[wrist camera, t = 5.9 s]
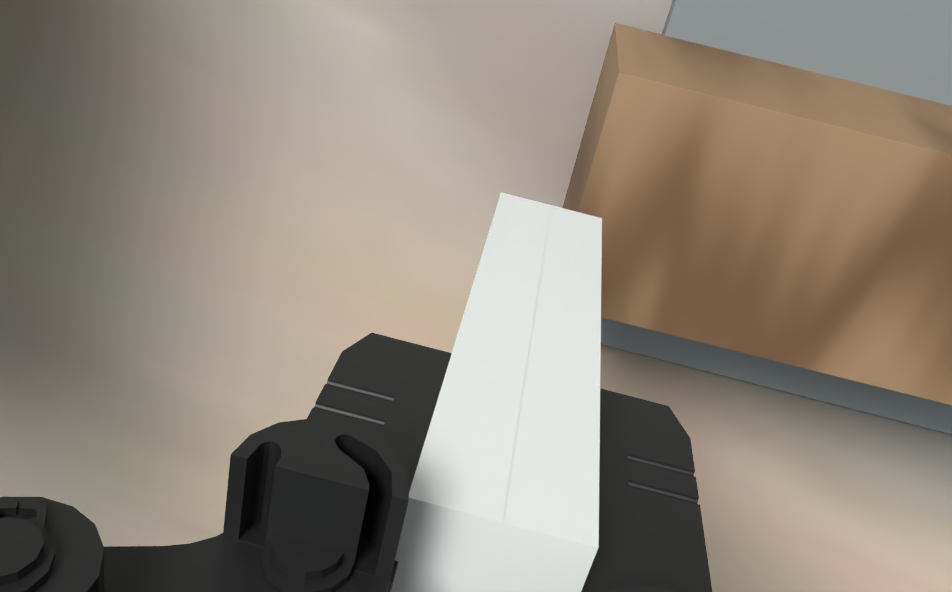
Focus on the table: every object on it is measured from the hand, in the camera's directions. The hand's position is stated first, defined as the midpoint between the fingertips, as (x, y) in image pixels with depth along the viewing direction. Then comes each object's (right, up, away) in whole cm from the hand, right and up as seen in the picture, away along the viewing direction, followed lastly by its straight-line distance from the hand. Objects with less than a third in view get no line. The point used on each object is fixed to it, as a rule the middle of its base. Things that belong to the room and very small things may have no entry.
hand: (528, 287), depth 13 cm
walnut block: (+2, +3, +6) cm, 7 cm away
